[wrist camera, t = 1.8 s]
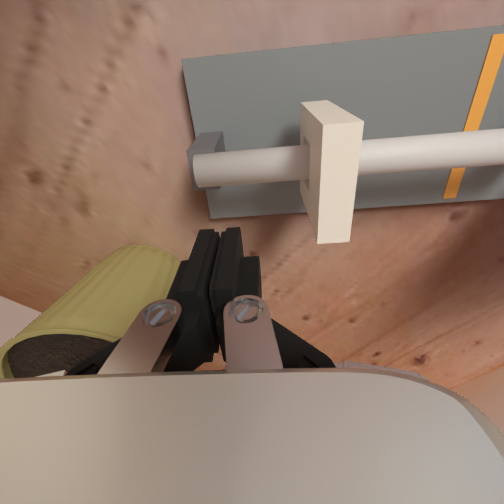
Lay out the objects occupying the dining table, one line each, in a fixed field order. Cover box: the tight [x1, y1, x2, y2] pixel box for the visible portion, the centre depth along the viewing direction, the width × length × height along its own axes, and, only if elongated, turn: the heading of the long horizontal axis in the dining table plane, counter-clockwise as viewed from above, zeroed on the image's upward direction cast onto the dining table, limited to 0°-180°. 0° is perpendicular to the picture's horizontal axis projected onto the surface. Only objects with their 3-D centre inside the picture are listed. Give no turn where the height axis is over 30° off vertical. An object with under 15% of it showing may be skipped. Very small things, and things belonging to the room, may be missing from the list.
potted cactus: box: [0, 245, 180, 379], centre depth 25 cm, size 15×15×30 cm
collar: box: [300, 100, 364, 244], centre depth 20 cm, size 7×2×9 cm, turn 5°
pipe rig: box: [181, 25, 504, 219], centre depth 23 cm, size 14×30×9 cm, turn 95°
